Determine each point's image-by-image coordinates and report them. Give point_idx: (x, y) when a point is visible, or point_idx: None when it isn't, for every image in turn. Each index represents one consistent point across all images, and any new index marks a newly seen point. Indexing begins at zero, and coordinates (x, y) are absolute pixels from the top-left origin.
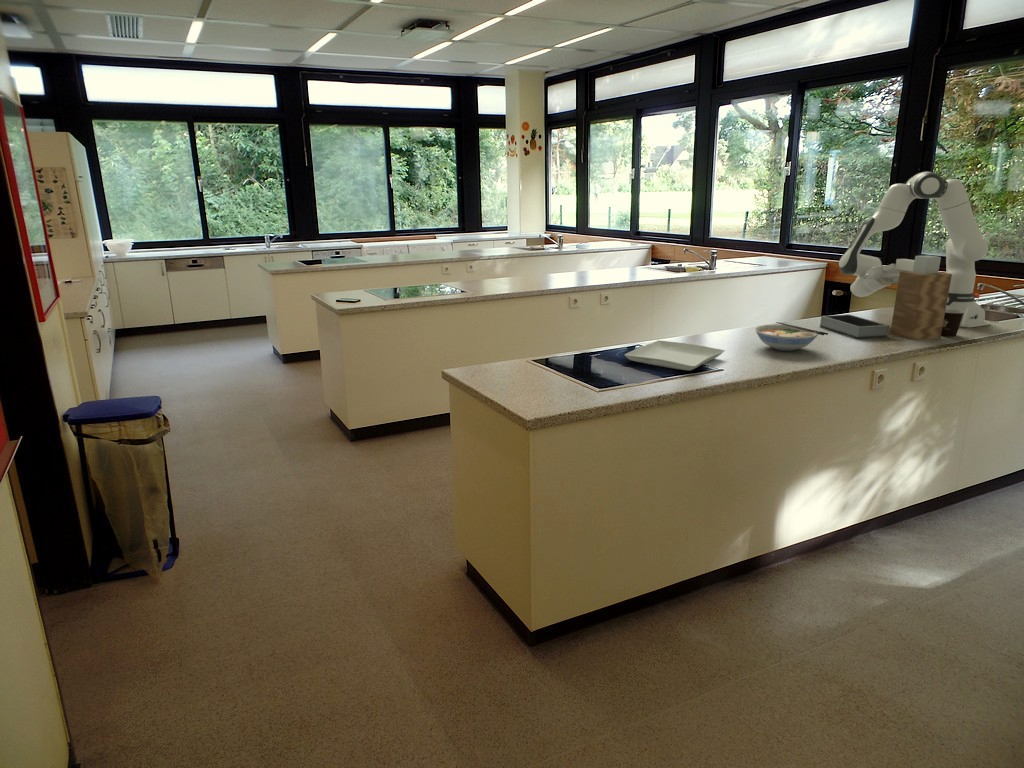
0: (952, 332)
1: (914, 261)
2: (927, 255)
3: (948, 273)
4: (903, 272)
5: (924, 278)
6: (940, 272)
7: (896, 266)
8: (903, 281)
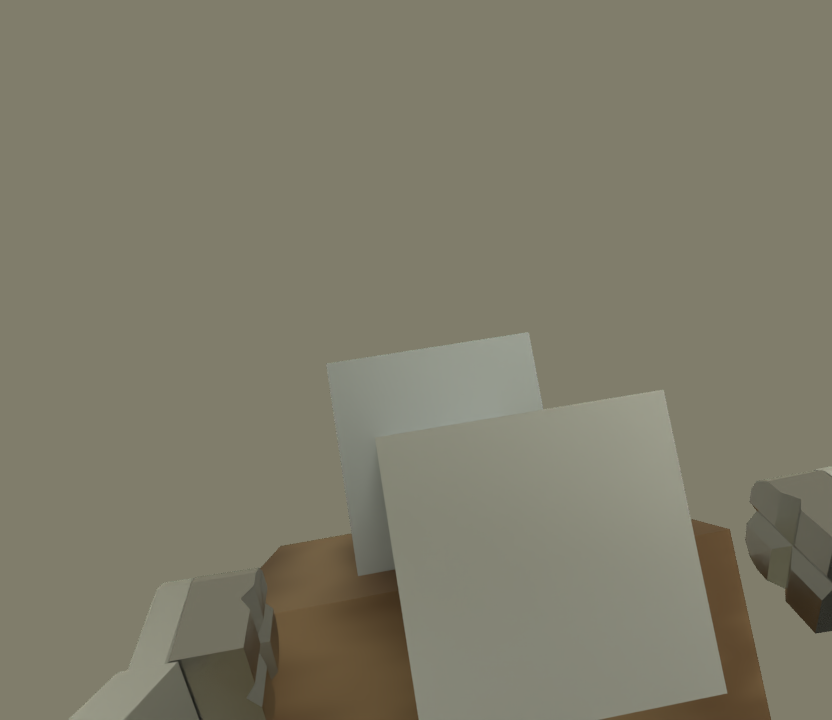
0: None
1: (540, 401)
2: (352, 360)
3: (277, 552)
4: (695, 523)
5: None
6: (281, 565)
7: (690, 606)
8: None
